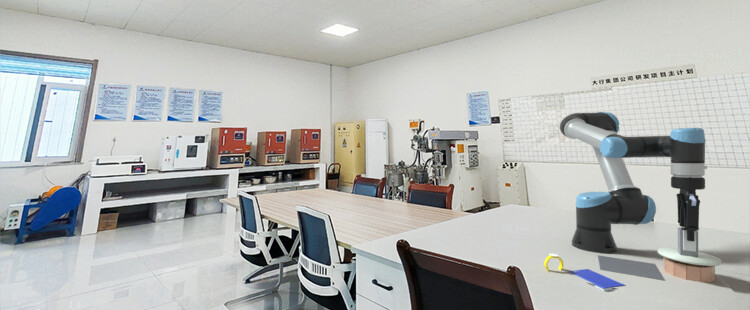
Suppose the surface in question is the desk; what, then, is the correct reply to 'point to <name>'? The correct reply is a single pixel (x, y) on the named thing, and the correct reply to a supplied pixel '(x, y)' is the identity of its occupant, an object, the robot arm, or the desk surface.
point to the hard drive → (597, 279)
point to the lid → (689, 254)
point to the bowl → (689, 270)
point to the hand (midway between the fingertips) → (687, 248)
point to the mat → (630, 267)
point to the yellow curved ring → (550, 258)
